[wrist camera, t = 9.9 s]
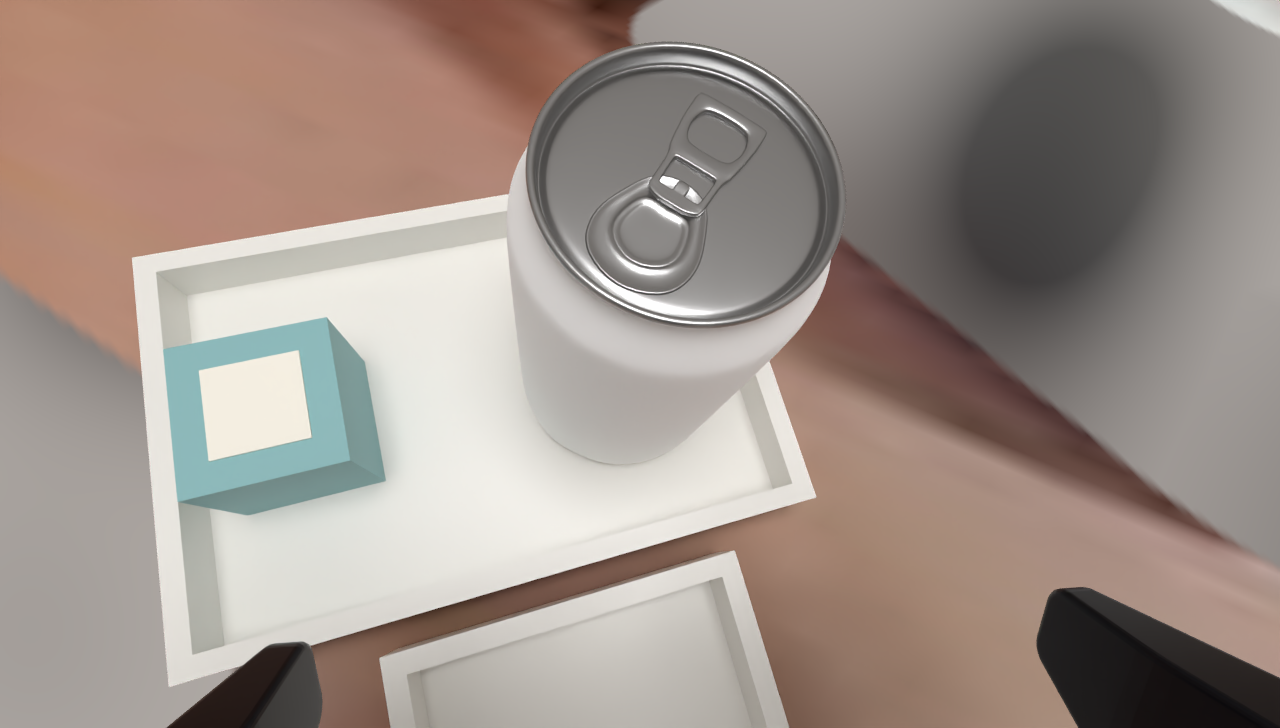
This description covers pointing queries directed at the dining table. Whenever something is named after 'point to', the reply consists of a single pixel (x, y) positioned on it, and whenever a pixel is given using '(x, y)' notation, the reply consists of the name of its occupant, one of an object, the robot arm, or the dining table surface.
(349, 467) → the letter cube
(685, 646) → the small tray
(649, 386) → the can
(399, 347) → the long tray
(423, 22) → the dining table surface
